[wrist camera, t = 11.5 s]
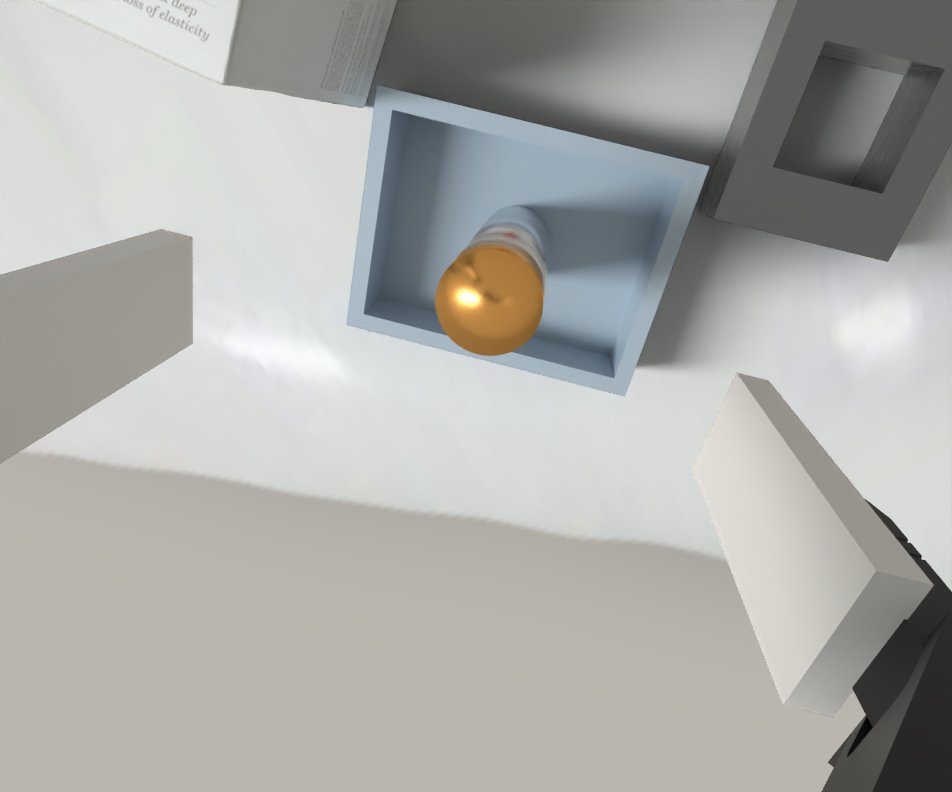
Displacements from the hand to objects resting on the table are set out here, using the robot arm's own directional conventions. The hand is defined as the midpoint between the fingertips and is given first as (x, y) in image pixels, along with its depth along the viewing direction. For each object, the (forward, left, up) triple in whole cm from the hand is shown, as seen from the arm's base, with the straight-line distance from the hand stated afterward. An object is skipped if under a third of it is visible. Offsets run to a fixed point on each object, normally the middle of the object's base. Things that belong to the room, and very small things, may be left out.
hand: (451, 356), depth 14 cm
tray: (0, 0, -19) cm, 19 cm away
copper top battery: (0, 0, -18) cm, 18 cm away
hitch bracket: (+13, +8, -19) cm, 24 cm away
